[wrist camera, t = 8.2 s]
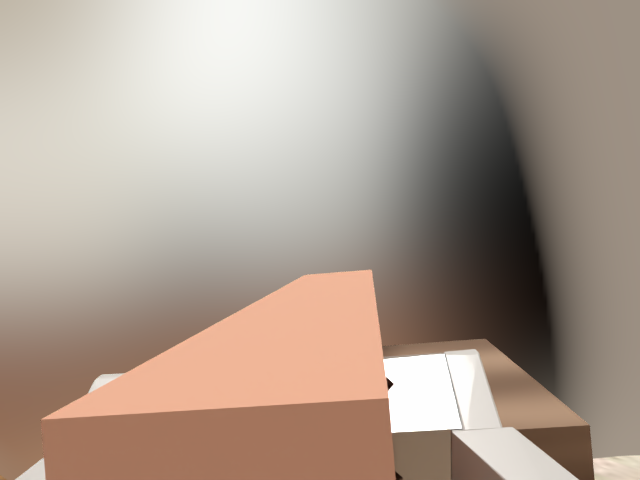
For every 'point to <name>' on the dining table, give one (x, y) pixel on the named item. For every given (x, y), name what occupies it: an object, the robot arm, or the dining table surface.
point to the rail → (245, 398)
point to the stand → (523, 405)
